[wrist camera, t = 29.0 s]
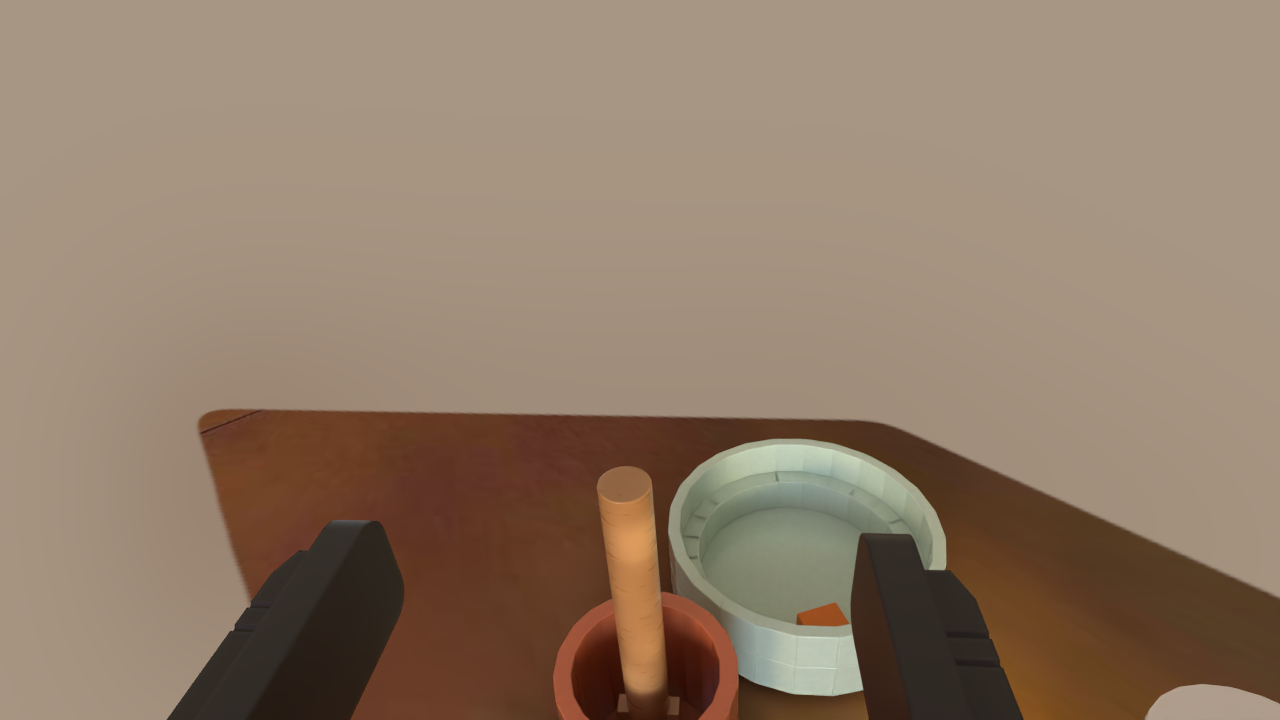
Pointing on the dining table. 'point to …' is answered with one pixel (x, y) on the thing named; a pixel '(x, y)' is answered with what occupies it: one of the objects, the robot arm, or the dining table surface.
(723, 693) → the crock
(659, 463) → the dining table surface
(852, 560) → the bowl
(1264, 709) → the candle
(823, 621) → the carrot chunk
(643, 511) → the stirring stick
